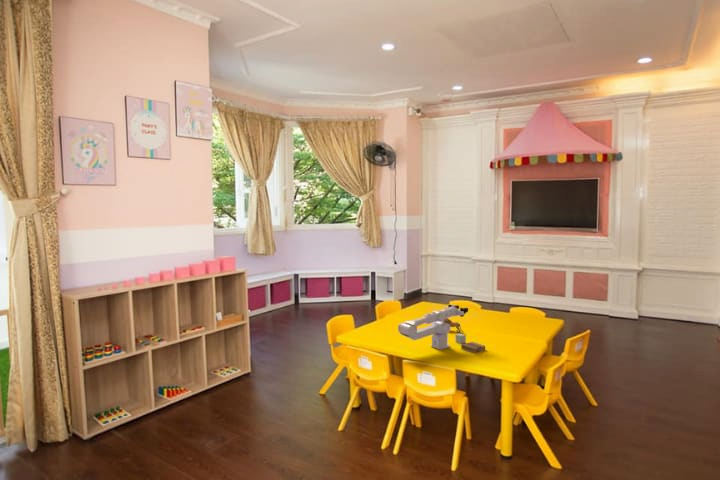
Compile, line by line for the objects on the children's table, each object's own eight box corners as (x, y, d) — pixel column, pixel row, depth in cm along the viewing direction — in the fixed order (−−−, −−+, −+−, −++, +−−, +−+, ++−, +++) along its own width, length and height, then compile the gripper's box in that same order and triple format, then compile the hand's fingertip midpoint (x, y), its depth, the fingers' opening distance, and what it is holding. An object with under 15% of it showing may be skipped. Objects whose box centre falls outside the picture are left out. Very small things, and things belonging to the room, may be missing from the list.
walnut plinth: (473, 353, 266) (474, 349, 265) (461, 349, 274) (461, 344, 274) (485, 350, 271) (485, 345, 271) (472, 346, 280) (472, 341, 279)
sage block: (460, 344, 283) (460, 336, 283) (455, 342, 287) (455, 334, 287) (465, 342, 286) (465, 335, 285) (460, 340, 289) (460, 333, 289)
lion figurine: (441, 331, 312) (441, 318, 311) (443, 329, 317) (443, 316, 316) (462, 333, 306) (462, 320, 305) (464, 331, 311) (464, 318, 310)
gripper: (456, 309, 273) (471, 304, 281) (439, 304, 285) (454, 300, 293) (456, 320, 274) (471, 315, 282) (440, 315, 286) (454, 310, 294)
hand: (463, 308), depth 287 cm, fingers open, 7 cm apart
